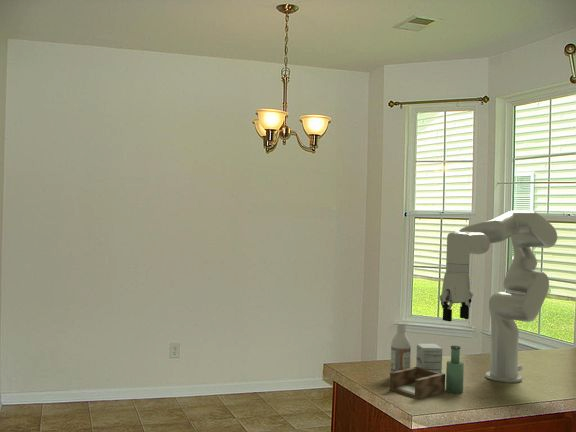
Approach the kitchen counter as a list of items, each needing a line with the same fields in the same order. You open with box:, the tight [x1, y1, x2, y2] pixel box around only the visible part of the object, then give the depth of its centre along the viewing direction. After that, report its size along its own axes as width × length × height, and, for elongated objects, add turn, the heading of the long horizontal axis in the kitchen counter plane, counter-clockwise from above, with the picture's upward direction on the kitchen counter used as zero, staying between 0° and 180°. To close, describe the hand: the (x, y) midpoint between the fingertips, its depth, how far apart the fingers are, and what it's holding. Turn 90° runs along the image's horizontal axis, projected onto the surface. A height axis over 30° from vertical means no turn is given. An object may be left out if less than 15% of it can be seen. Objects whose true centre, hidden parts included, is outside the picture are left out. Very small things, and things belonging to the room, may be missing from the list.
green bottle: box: [445, 345, 465, 394], centre depth 206 cm, size 6×6×15 cm
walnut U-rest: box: [389, 366, 446, 400], centre depth 204 cm, size 14×12×6 cm
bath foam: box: [389, 322, 412, 373], centre depth 220 cm, size 7×7×20 cm
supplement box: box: [415, 343, 443, 373], centre depth 218 cm, size 7×7×13 cm
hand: (455, 319), depth 206 cm, fingers open, 9 cm apart
